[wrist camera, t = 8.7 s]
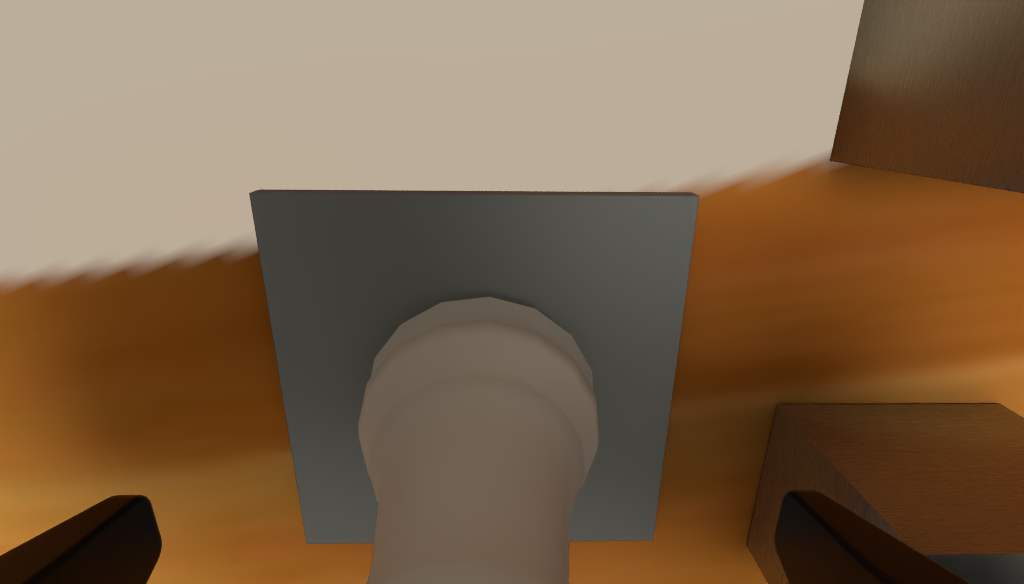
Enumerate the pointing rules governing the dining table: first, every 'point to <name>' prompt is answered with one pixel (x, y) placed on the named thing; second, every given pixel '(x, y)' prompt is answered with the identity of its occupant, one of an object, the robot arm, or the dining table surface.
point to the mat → (466, 275)
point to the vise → (920, 427)
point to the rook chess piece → (477, 445)
